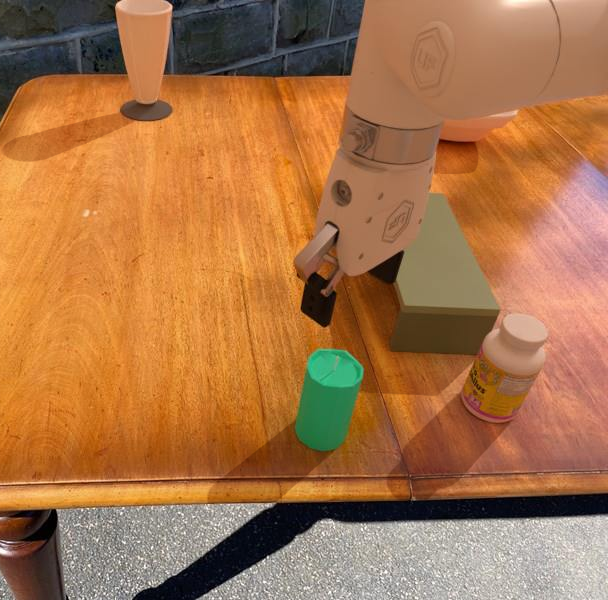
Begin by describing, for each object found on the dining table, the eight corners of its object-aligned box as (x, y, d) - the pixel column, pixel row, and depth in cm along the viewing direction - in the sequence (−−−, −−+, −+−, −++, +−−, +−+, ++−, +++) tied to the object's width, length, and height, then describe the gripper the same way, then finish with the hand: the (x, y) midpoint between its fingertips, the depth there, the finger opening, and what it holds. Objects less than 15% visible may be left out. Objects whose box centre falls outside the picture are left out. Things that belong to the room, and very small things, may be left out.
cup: (177, 119, 136) (178, 13, 122) (124, 122, 134) (118, 14, 120) (167, 97, 145) (167, -4, 131) (117, 100, 142) (111, -3, 128)
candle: (350, 452, 71) (372, 379, 63) (296, 450, 71) (312, 377, 63) (342, 410, 76) (361, 337, 68) (292, 409, 76) (305, 335, 68)
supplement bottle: (455, 380, 80) (488, 303, 72) (509, 387, 80) (548, 310, 71) (464, 421, 75) (500, 343, 67) (522, 429, 74) (565, 351, 66)
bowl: (488, 116, 143) (501, 79, 137) (513, 159, 127) (528, 119, 122) (396, 109, 144) (404, 72, 138) (409, 151, 128) (419, 111, 123)
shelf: (481, 355, 84) (501, 309, 79) (390, 351, 84) (404, 305, 79) (430, 235, 105) (443, 193, 100) (358, 232, 105) (367, 189, 100)
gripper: (357, 185, 43) (318, 360, 54) (491, 119, 52) (433, 281, 63) (277, 143, 47) (256, 314, 58) (414, 88, 56) (373, 245, 67)
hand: (348, 296), depth 61 cm, fingers open, 9 cm apart
